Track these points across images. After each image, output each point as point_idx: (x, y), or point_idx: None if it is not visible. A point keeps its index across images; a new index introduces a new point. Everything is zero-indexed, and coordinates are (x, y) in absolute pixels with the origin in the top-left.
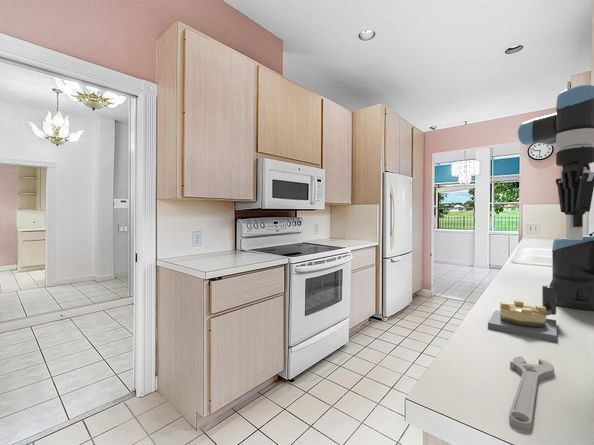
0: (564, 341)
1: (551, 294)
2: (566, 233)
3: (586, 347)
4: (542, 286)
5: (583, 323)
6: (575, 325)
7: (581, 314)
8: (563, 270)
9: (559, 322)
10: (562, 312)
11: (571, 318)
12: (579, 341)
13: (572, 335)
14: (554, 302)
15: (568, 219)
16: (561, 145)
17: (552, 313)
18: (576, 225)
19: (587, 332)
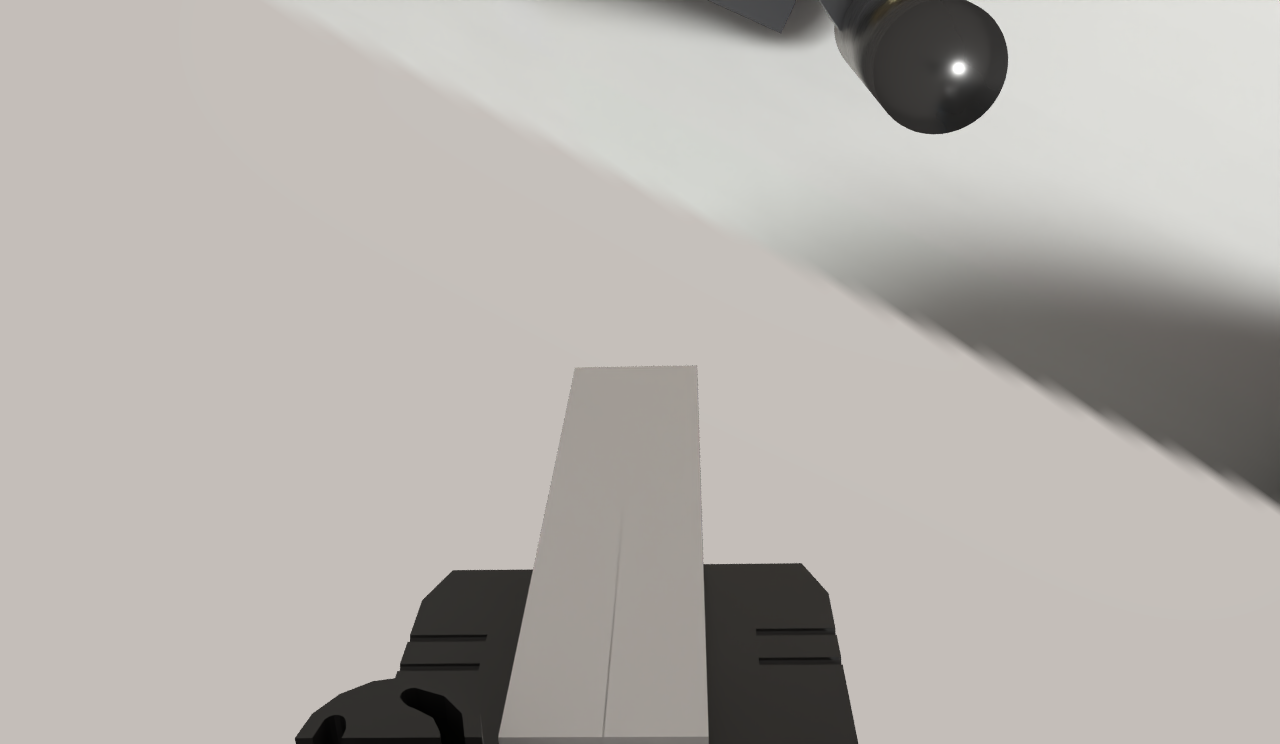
0: None
1: (865, 51)
2: (693, 422)
3: (309, 7)
4: (968, 2)
5: (897, 282)
6: (827, 193)
7: (1158, 398)
8: None
9: None
10: (1204, 276)
11: (1024, 260)
12: (426, 22)
13: (554, 40)
14: (854, 68)
15: (601, 632)
16: None
17: (837, 32)
18: (431, 606)
19: (666, 192)
